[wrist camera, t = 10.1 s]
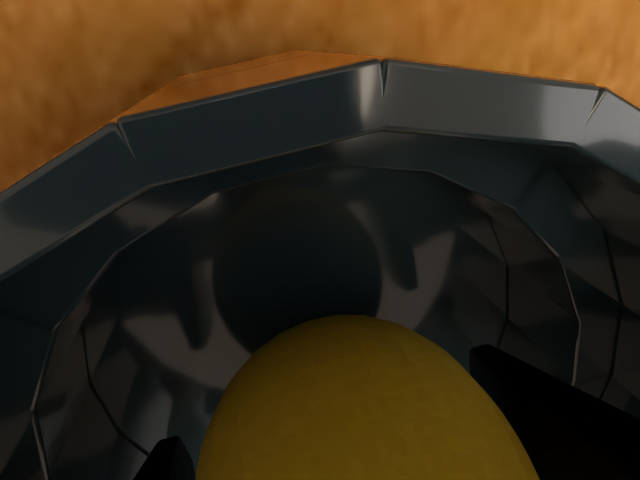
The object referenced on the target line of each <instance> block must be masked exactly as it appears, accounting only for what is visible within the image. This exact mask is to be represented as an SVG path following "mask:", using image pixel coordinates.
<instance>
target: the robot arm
mask: <svg viewBox="0 0 640 480" xmlns="http://www.w3.org/2000/svg"><path fill="white" fill-rule="evenodd" d="M469 367H470V375H471V377H472V378H473V379H474V380H475V381H476V382H477V383H478V384H479V385H480V386H481V387H482V388H483V390H484V391H485V392H486V393H487V394H488V395H489V396H490V397H491V399H492V400H493V401H494V402H495V404H496V405H497V406H498V408H499V409H500V410H501V411H502V413H503V414H504V416H505V417H506V419H507V420H508V422H509V423H510V425H511V426H512V428H513V429H514V431H515V433H516V434H517V436H518V438H519V440H520V441H521V443H522V445H523V447H524V449H525V450H526V452H527V454H528V456H529V458H530V460H531V462H532V464H533V466H534V468H535V470H536V473H537V475H538V477H539V479H540V480H640V419H639V418H637V417H635V416H633V415H631V414H629V413H627V412H625V411H623V410H621V409H619V408H617V407H615V406H612V405H610V404H608V403H606V402H604V401H602V400H600V399H598V398H596V397H594V396H592V395H590V394H588V393H586V392H584V391H582V390H580V389H578V388H576V387H574V386H572V385H570V384H568V383H566V382H564V381H562V380H560V379H558V378H556V377H554V376H552V375H550V374H548V373H546V372H544V371H542V370H540V369H538V368H536V367H534V366H532V365H530V364H528V363H526V362H524V361H522V360H520V359H518V358H516V357H514V356H512V355H510V354H508V353H506V352H504V351H502V350H500V349H498V348H496V347H494V346H492V345H489V344H483V345H480V346H477V347H473V348H471V349H470V351H469ZM133 480H195V470H194V464H193V461H192V458H191V456H190V454H189V452H188V450H187V448H186V446H185V444H184V442H183V440H182V439H181V437H180V436H178V435H175V436H172V437H168V438H165V439H161V440H160V441H158V442H157V443H156V445H155V446H154V448H153V449H152V451H151V452H150V454H149V455H148V457H147V459H146V460H145V462H144V463H143V465H142V466H141V468H140V469H139V471H138V472H137V474H136V475H135V477H134V479H133Z"/></svg>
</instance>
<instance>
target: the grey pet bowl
mask: <svg viewBox="0 0 640 480" xmlns="http://www.w3.org/2000/svg"><path fill="white" fill-rule="evenodd" d="M332 315H366V316H370V317H374V318H378V319H382V320H386V321H390V322H394V323H398V324H400V325H402V326H404V327H406V328H408V329H410V330H412V331H414V332H416V333H418V334H419V335H421V336H423V337H425V338H427V339H429V340H430V341H432V342H434V343H435V344H437V345H438V346H440V347H441V348H442V349H444V350H445V351H446V352H448V353H449V354H450V355H451V356H452V357H453V358H454V359H455V360H456V361H458V362H459V363H460V365H461V366H462V367H463V368H464V369H465V370H466V371H467V372H468V373H469V374H470V367H469V351H470V349H471V348H473V347H477V346H480V345H483V344H489V345H492V346H494V347H496V348H498V349H500V350H502V351H504V352H506V353H508V354H510V355H512V356H514V357H516V358H518V359H520V360H522V361H524V362H526V363H528V364H530V365H532V366H534V367H536V368H538V369H540V370H542V371H544V372H546V373H548V374H550V375H552V376H554V377H556V378H558V379H560V380H562V381H564V382H566V383H568V384H570V385H572V386H574V387H576V388H578V389H580V390H582V391H584V392H586V393H588V394H590V395H592V396H594V397H596V398H598V399H600V400H602V401H604V402H606V403H608V404H610V405H612V406H615V407H617V408H619V409H621V410H623V411H625V412H627V413H629V414H631V415H633V416H635V417H637V418H639V419H640V108H638V107H637V106H635V105H634V104H632V103H630V102H629V101H627V100H626V99H624V98H622V97H621V96H619V95H618V94H616V93H615V92H613V91H611V90H610V89H608V88H607V87H602V86H597V85H595V84H594V83H587V82H579V81H571V80H564V79H556V78H548V77H540V76H532V75H524V74H517V73H509V72H501V71H493V70H485V69H477V68H470V67H462V66H454V65H446V64H438V63H430V62H423V61H415V60H407V59H399V58H391V57H381V56H368V55H356V54H343V53H330V52H319V51H306V50H299V51H297V50H293V51H289V52H285V53H280V54H276V55H271V56H267V57H262V58H258V59H254V60H249V61H245V62H240V63H236V64H231V65H227V66H223V67H218V68H214V69H209V70H205V71H200V72H196V73H192V74H187V75H183V76H182V77H180V78H177V79H175V80H174V81H172V82H170V83H169V84H167V85H166V86H164V87H162V88H161V89H159V90H158V91H156V92H154V93H153V94H151V95H150V96H148V97H146V98H145V99H143V100H142V101H140V102H139V103H137V104H135V105H134V106H132V107H131V108H129V109H127V110H126V111H124V112H123V113H121V114H119V115H118V116H116V117H115V118H113V119H111V120H110V121H108V122H107V123H105V124H103V125H102V126H100V127H99V128H97V129H96V130H94V131H93V132H91V133H89V134H88V135H86V136H85V137H83V138H82V139H80V140H78V141H77V142H75V143H74V144H72V145H71V146H69V147H68V148H66V149H64V150H63V151H61V152H60V153H58V154H57V155H55V156H53V157H52V158H50V159H49V160H47V161H46V162H44V163H42V164H41V165H39V166H38V167H36V168H35V169H33V170H32V171H30V172H28V173H27V174H25V175H24V176H22V177H21V178H19V179H17V180H16V181H14V182H13V183H11V184H10V185H8V186H7V187H5V188H3V189H2V190H0V480H133V479H134V477H135V475H136V474H137V472H138V471H139V469H140V468H141V466H142V465H143V463H144V462H145V460H146V459H147V457H148V455H149V454H150V452H151V451H152V449H153V448H154V446H155V445H156V443H157V442H158V441H160V440H161V439H165V438H168V437H172V436H175V435H178V436H180V437H181V439H182V440H183V442H184V444H185V446H186V448H187V450H188V452H189V454H190V456H191V458H192V461H193V464H194V470H195V480H196V471H197V465H198V460H199V455H200V450H201V447H202V443H203V440H204V437H205V433H206V430H207V428H208V426H209V423H210V421H211V418H212V416H213V414H214V412H215V410H216V408H217V405H218V403H219V401H220V399H221V397H222V395H223V393H224V391H225V389H226V387H227V386H228V384H229V382H230V381H231V379H232V378H233V377H234V375H235V374H236V373H237V372H238V371H239V370H240V368H241V367H242V366H243V365H244V364H245V363H246V361H247V360H248V359H249V358H250V357H251V356H252V354H253V353H254V352H255V351H256V350H257V349H259V348H260V347H261V346H263V345H264V344H266V343H267V342H268V341H270V340H271V339H272V338H274V337H275V336H277V335H278V334H279V333H281V332H283V331H286V330H288V329H290V328H292V327H295V326H297V325H299V324H301V323H304V322H306V321H309V320H314V319H318V318H323V317H327V316H332Z"/></svg>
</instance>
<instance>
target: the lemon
mask: <svg viewBox="0 0 640 480" xmlns="http://www.w3.org/2000/svg"><path fill="white" fill-rule="evenodd" d="M196 480H540V479H539V477H538V475H537V473H536V470H535V468H534V466H533V464H532V462H531V460H530V458H529V456H528V454H527V452H526V450H525V449H524V447H523V445H522V443H521V441H520V440H519V438H518V436H517V434H516V433H515V431H514V429H513V428H512V426H511V425H510V423H509V422H508V420H507V419H506V417H505V416H504V414H503V413H502V411H501V410H500V409H499V408H498V406H497V405H496V404H495V402H494V401H493V400H492V399H491V397H490V396H489V395H488V394H487V393H486V392H485V391H484V390H483V388H482V387H481V386H480V385H479V384H478V383H477V382H476V381H475V380H474V379H473V378H472V377H471V375H470V374H469V373H468V372H467V371H466V370H465V369H464V368H463V367H462V366H461V365H460V363H459V362H458V361H456V360H455V359H454V358H453V357H452V356H451V355H450V354H449V353H448V352H446V351H445V350H444V349H442V348H441V347H440V346H438V345H437V344H435V343H434V342H432V341H430V340H429V339H427V338H425V337H423V336H421V335H419V334H418V333H416V332H414V331H412V330H410V329H408V328H406V327H404V326H402V325H400V324H398V323H394V322H390V321H386V320H382V319H378V318H374V317H370V316H366V315H332V316H327V317H323V318H318V319H314V320H309V321H306V322H304V323H301V324H299V325H297V326H295V327H292V328H290V329H288V330H286V331H283V332H281V333H279V334H278V335H277V336H275V337H274V338H272V339H271V340H270V341H268V342H267V343H266V344H264V345H263V346H261V347H260V348H259V349H257V350H256V351H255V352H254V353H253V354H252V356H251V357H250V358H249V359H248V360H247V361H246V363H245V364H244V365H243V366H242V367H241V368H240V370H239V371H238V372H237V373H236V374H235V375H234V377H233V378H232V379H231V381H230V382H229V384H228V386H227V387H226V389H225V391H224V393H223V395H222V397H221V399H220V401H219V403H218V405H217V408H216V410H215V412H214V414H213V416H212V418H211V421H210V423H209V426H208V428H207V430H206V433H205V437H204V440H203V443H202V447H201V450H200V455H199V460H198V465H197V471H196Z"/></svg>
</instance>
